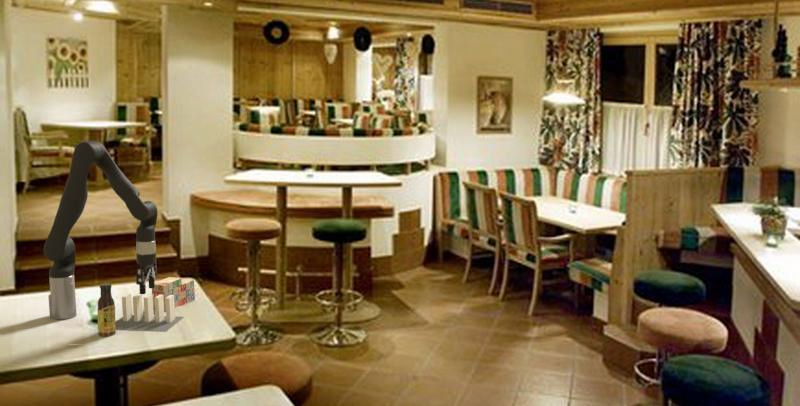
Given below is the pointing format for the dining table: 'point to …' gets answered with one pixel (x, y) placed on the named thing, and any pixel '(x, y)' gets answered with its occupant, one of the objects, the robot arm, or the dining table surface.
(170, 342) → the dining table surface
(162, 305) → the domino
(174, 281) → the stack of blocks
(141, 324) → the mat
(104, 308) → the sauce bottle
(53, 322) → the dining table surface
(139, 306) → the domino
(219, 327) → the dining table surface
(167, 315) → the domino
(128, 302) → the domino
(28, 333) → the dining table surface
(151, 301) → the domino
